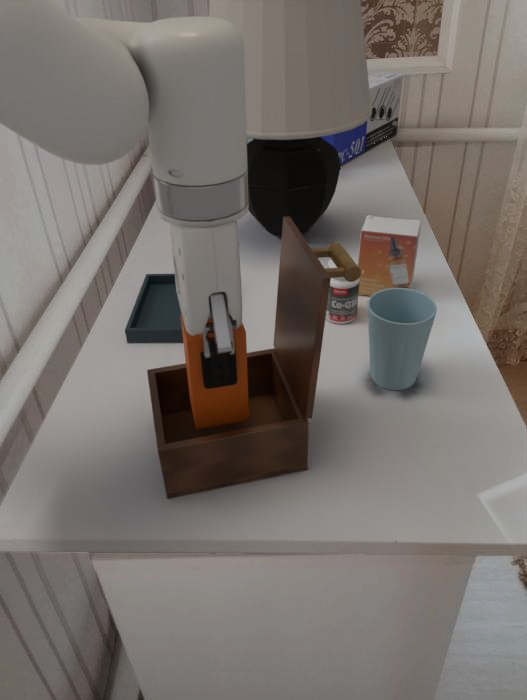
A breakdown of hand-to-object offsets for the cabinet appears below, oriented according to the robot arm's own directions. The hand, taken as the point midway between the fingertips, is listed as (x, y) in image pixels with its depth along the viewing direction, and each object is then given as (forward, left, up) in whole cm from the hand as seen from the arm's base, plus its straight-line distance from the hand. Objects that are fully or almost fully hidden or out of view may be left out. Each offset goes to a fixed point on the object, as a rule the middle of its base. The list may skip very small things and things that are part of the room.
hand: (215, 366), depth 59 cm
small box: (+38, +4, -11) cm, 40 cm away
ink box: (+89, +43, -11) cm, 99 cm away
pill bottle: (+28, +5, -11) cm, 31 cm away
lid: (+7, -5, +4) cm, 9 cm away
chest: (0, 0, -10) cm, 10 cm away
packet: (0, 0, -6) cm, 6 cm away
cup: (+21, -8, -11) cm, 25 cm away
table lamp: (+44, +28, -11) cm, 53 cm away
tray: (+14, +24, -10) cm, 30 cm away
